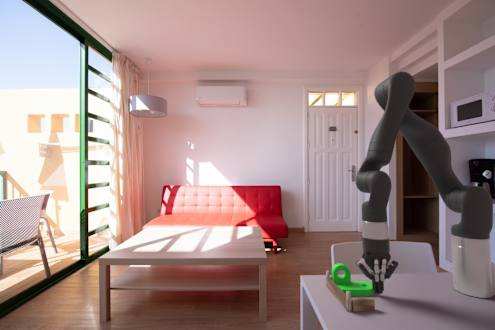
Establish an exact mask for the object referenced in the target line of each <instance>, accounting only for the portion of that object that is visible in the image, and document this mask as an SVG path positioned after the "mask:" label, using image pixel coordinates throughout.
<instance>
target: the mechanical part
mask: <svg viewBox="0 0 495 330" xmlns="http://www.w3.org/2000/svg"><path fill="white" fill-rule="evenodd" d="M340 271H342V272H343V275H340V276H341V277H339V275H338V274H339V272H340ZM351 275H352V274H351V270H350V269H349V267H348V266H347V265H345V264H344V263H342V262H338V263H336V264H334V265H333V266H332V268H331V277H332V281H333V282H334V283H335V284H336V285H337V286H338V287H339V288H340V289H341V290H342V291H343V292H344V293H345V294H346V291H350V292H351V297H368V296H369V297H370V296H373V295H374V294H375V291H374V290H373V288H372V282H370V281H369V280H368V281H366V280H364V281H363V280H362V281H355V280H354V281H352V279H351V278H352V277H351Z"/></svg>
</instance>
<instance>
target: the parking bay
mask: <svg viewBox="0 0 495 330" xmlns="http://www.w3.org/2000/svg"><path fill="white" fill-rule="evenodd" d="M330 273H331V272H330V270H325V286H326V288H327V289H328V290H329V291H330V292H331V293H332V295H334V297H335V298H336V299H337V301H338V302H339V303H340V304H341V305H342V306H343V308H344V309H345V310H346V311H347V313H348V312H349V313H350V312H352V311H353V312H363V311H364V312H368V311H369V312H370V311H372V312H373V311H375V310H376V309H375V307H376V306H375V305H376V304H375V298H374V297H373V296H372V297H352V296H351V292H350V291H346V294H345V293H344V292H343V291H342V290H341V289H340V288H339V287H338V286H337V285H336V284H335V283H334V282H333V281H332V276H330V275H331V274H330ZM338 276H339V275H338ZM341 276H342V275H340V276H339V277H341Z"/></svg>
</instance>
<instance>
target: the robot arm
mask: <svg viewBox="0 0 495 330" xmlns="http://www.w3.org/2000/svg"><path fill="white" fill-rule="evenodd" d="M416 86H417V83H416V80H415V78H414V76H413V75H412V74H411V73H409V72H406V71H399V72H398V71H397V72H395V73H393V74H391V75H390V76H388V77H386V79H384V80H383V81H381V82H380V83H378V84H377V85H376V87H375V88H374V95H373V96H374V98H375V101H376V102H377V104H378V106H379V107H380V108H381V109H382V110H383V114H382V115H381V118H380V120H379V122H378V123H377V125H376V127H375V129H374V131H373V133H372V135H371V138H370V141H369V143H368V148H367V152H366V156H365V158H364V159H363V162H362V163H361V165H360V166H359V169H358V171H357V174H356V177H355V185H356V188H357V189H358V190H359V191H360V192H362V193H365V194H369V198H368V200H366V201H364V202H362V205H361V221H362V223H361V239H362V250H363V251H362V253H363V254H362V255H361V259H360V260H359V261H358V260H357V261H355V265H356V267H357V268H358V269H359V270H360V271H361V272H362V274H363V275H364V277H366V278H368V279H369V280H371V284H372V288H373V290H374V293H375V294H379V295H381V294H382V295H383V293H384V290H385V285H384V284H385V283H384V282H385V280H389V279H390V278H391V277H392V275H393V273H394V272H395V270H396V269H397V268H398V266H399V262H398V261H396V260H394V259H393V258H392V256H391V253H390V251H391V246H390V244H391V243H390V230H389V227H390V226H389V221H388V211H387V210H388V209H387V208H388V204H389V200H390V196H391V192H392V180H391V178H390V176H389V174H388V173H387V172H385V171H383V170H381V169H382V168H384V167H386V166H388V165H389V164H390V163H391V161H392V156H393V153H394V148H395V144H396V141H397V137H398V135H399V133H400V134H401V135H402V136H403V138H404V139H405V141H406V142H407V145H409V147H410V149H411V150H412V151H413V154H414V155H415V156H416V157H417V159H418V161H419V162H420V163H421V165H422V166H423V168H424V170H425V171H426V173H427V174H428V176H429V178H431V180H432V182H433V185H435V188H436V190H437V192H438V194H439V196H440V198H441V200H442V201H443V203H444V205H445V206H446V207H447V208H448V209H449V210H450V211H451V212H455V213H457V214H458V213H459V214H461V217H460V222H459V223H455V224H452V225H451V227H450V236H451V238H450V239H451V241H450V242H451V255H452V256H451V258H452V259H451V260H452V261H451V263H452V279H453V280H452V281H453V283H452V284H453V288H454V290H456V291H457V292H459V293H461V294H464V295H468V296H471V297H475V298H481V299H491V298H493V296H495V263H494V262H493V261H492V255H491V252H492V251H491V236H490V235H491V231H492V229H493V226H494V225H493V224H494V201H493V197H492V195H491V193H490V192H489V190H488V189H487V188H484V187H482V186H480V185H479V186H478V185H469V184H468V185H465V184H463V183H462V182H461V181H460V179H459V178H458V177H457V175H456V173H455V172H454V169H453V166H452V150H451V147H450V144H449V142H448V141H447V140H446V138H445V137H444V135H443V133H442V132H441V131H440V130H439V129H438V127H436V126H435V125H433V124H432V123H430V122H429V121H427V120H425V119H424V118H422V117H421V116H419V115H417V114H415V113H414V112H413V110H412V109H410V107H409V106H410V103H411V101H412V99H413V97H414V95H415V91H416ZM366 267H368V269H367V268H366Z"/></svg>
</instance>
